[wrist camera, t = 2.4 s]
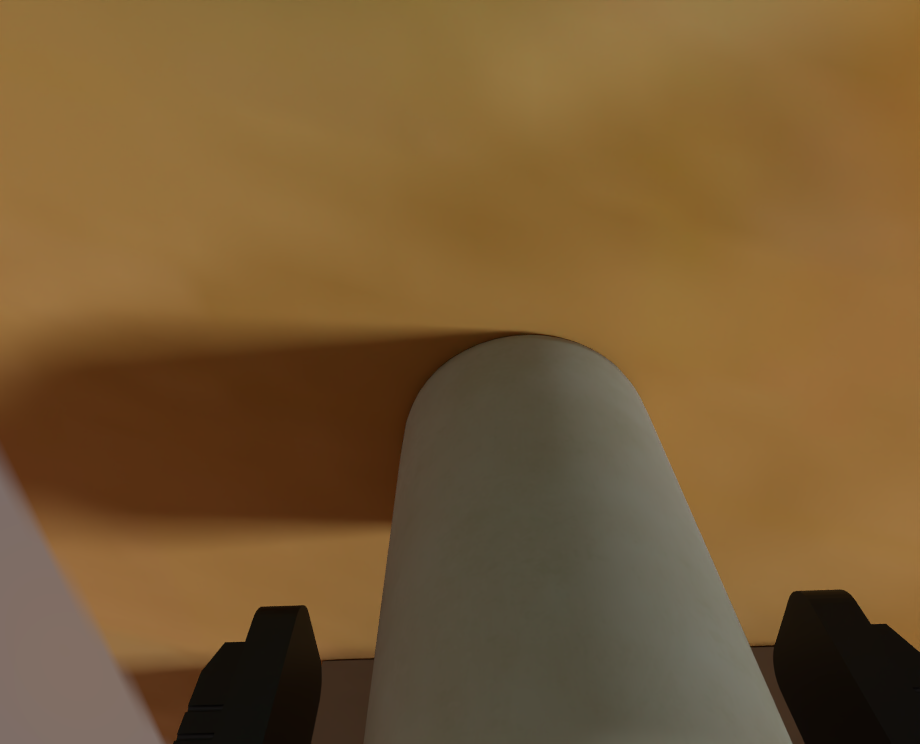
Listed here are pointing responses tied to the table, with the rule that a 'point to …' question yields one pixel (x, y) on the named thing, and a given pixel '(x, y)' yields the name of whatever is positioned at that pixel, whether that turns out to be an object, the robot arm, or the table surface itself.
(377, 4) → the table surface
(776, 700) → the bridge
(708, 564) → the candle
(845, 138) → the table surface
